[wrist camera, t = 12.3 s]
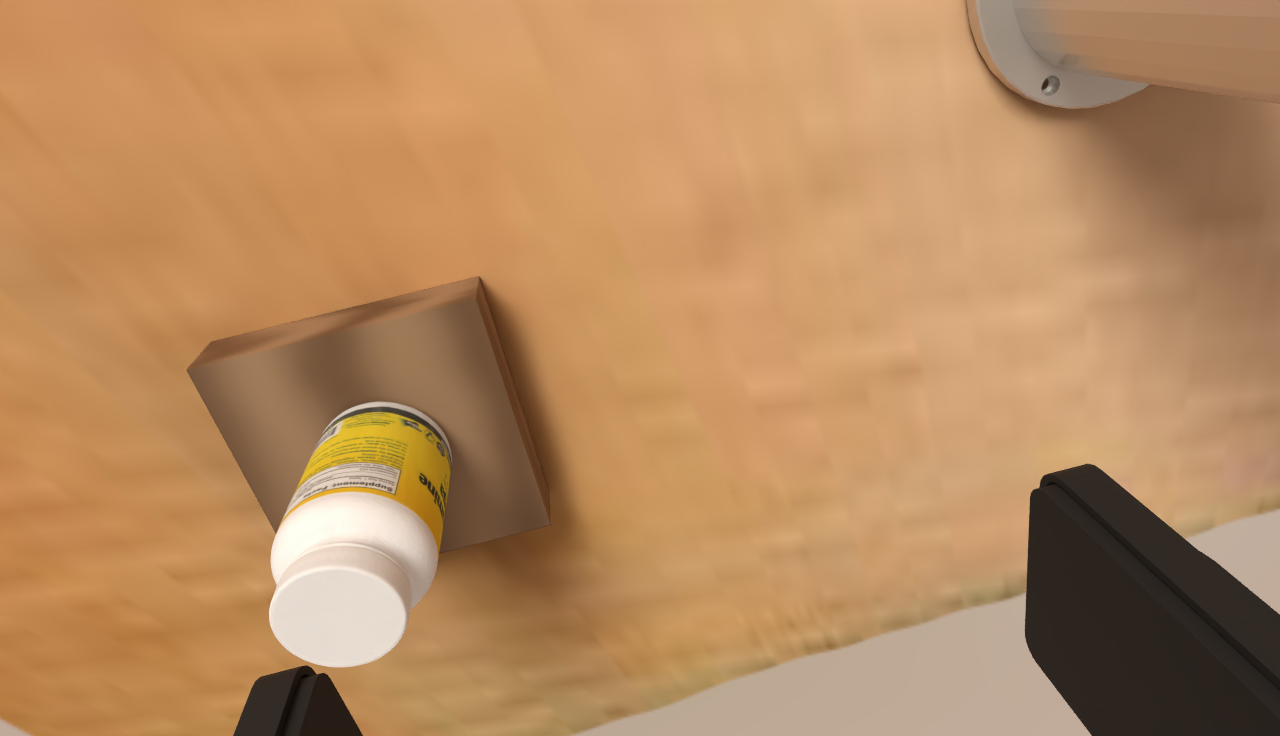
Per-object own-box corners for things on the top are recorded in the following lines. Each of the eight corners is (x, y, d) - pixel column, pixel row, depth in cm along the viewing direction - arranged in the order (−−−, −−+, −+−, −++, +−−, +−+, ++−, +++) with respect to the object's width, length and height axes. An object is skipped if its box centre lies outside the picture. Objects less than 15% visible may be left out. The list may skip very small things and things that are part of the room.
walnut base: (478, 276, 37) (475, 298, 34) (548, 491, 43) (550, 525, 40) (211, 342, 36) (186, 370, 34) (319, 549, 42) (305, 587, 40)
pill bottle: (451, 508, 39) (427, 685, 29) (321, 503, 37) (250, 685, 28) (456, 400, 36) (431, 553, 26) (317, 391, 35) (237, 549, 25)
